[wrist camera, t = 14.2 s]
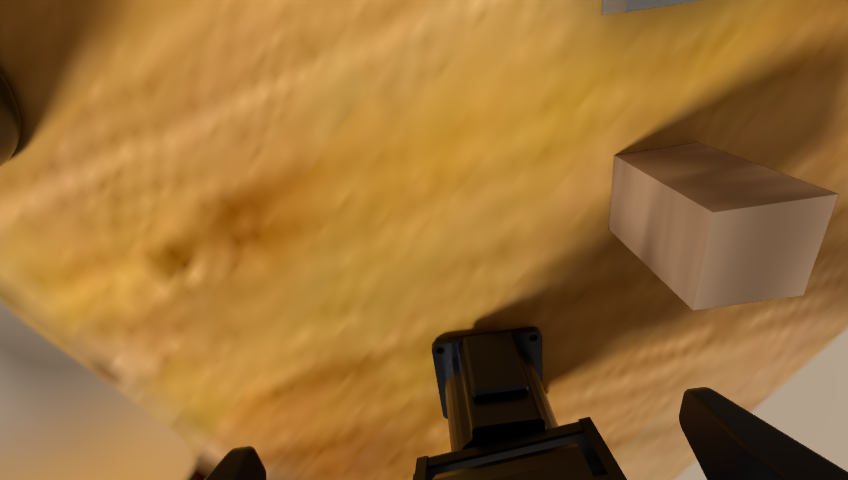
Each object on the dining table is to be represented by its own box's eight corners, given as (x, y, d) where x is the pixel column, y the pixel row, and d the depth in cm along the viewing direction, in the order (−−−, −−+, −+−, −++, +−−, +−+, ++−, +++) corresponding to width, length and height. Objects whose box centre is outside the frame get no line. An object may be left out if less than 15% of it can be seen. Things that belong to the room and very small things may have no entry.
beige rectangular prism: (697, 142, 19) (838, 194, 13) (685, 218, 21) (803, 295, 15) (613, 155, 19) (713, 212, 13) (608, 229, 21) (693, 310, 15)
